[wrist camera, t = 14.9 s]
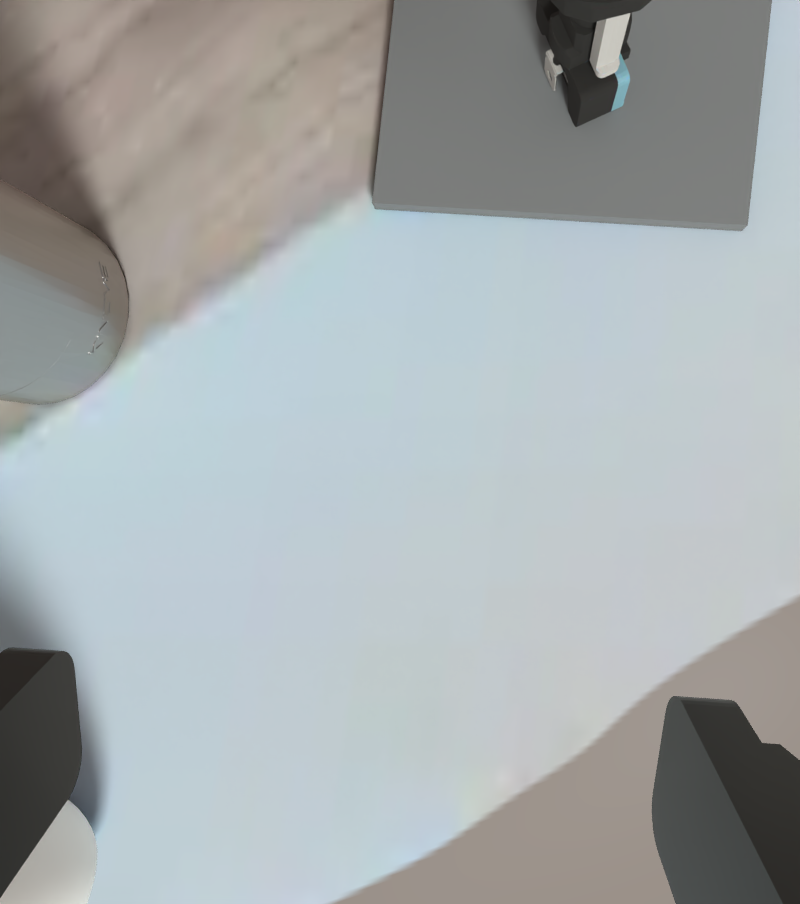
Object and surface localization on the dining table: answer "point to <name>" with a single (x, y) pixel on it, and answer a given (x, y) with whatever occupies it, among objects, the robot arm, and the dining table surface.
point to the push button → (588, 52)
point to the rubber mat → (550, 126)
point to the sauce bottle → (58, 864)
